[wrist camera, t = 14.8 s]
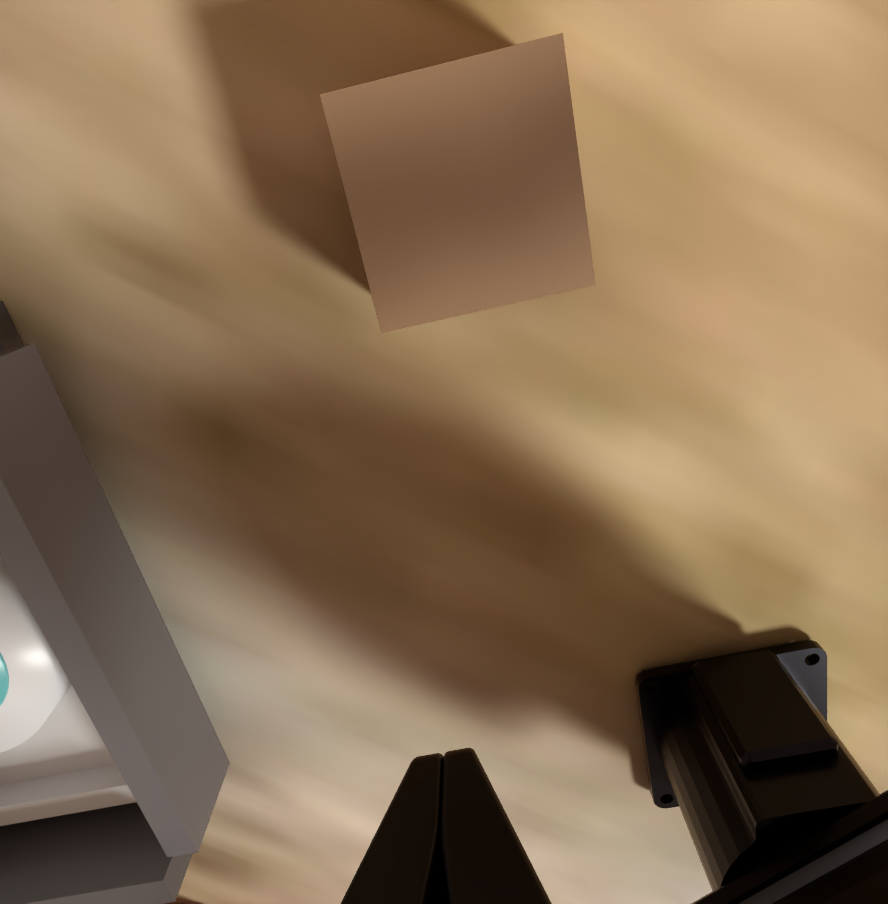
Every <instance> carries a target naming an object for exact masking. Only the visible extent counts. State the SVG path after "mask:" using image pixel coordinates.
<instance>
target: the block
mask: <svg viewBox="0 0 888 904" xmlns="http://www.w3.org/2000/svg"><path fill="white" fill-rule="evenodd" d="M319 95H320V98H321V102H322V106H323V110H324V114H325V118H326V122H327V125H328V129H329V133H330V137H331V141H332V145H333V149H334V152H335V156H336V160H337V164H338V168H339V172H340V176H341V179H342V183H343V187H344V191H345V195H346V199H347V202H348V206H349V210H350V214H351V218H352V222H353V226H354V229H355V233H356V237H357V241H358V245H359V249H360V253H361V256H362V260H363V264H364V268H365V272H366V276H367V280H368V283H369V287H370V291H371V295H372V299H373V303H374V307H375V310H376V314H377V318H378V322H379V326H380V330H381V333H383V332H388V331H392V330H396V329H401V328H405V327H410V326H414V325H419V324H423V323H428V322H432V321H437V320H441V319H446V318H450V317H454V316H459V315H463V314H468V313H472V312H477V311H481V310H486V309H490V308H495V307H499V306H503V305H508V304H512V303H517V302H521V301H526V300H530V299H535V298H539V297H544V296H548V295H553V294H557V293H561V292H566V291H570V290H575V289H579V288H584V287H588V286H593V285H595V278H594V270H593V262H592V255H591V247H590V239H589V232H588V224H587V216H586V209H585V201H584V193H583V186H582V178H581V170H580V163H579V155H578V147H577V140H576V132H575V124H574V116H573V109H572V101H571V93H570V86H569V78H568V70H567V63H566V55H565V47H564V40H563V33H561V34H557V35H553V36H549V37H545V38H541V39H537V40H533V41H529V42H525V43H521V44H517V45H513V46H509V47H505V48H501V49H497V50H493V51H489V52H485V53H482V54H478V55H474V56H470V57H466V58H462V59H458V60H454V61H450V62H446V63H442V64H438V65H434V66H430V67H426V68H422V69H418V70H414V71H410V72H406V73H402V74H398V75H394V76H390V77H386V78H382V79H379V80H375V81H371V82H367V83H363V84H359V85H355V86H351V87H347V88H343V89H339V90H335V91H331V92H327V93H323V94H319Z"/></svg>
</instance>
